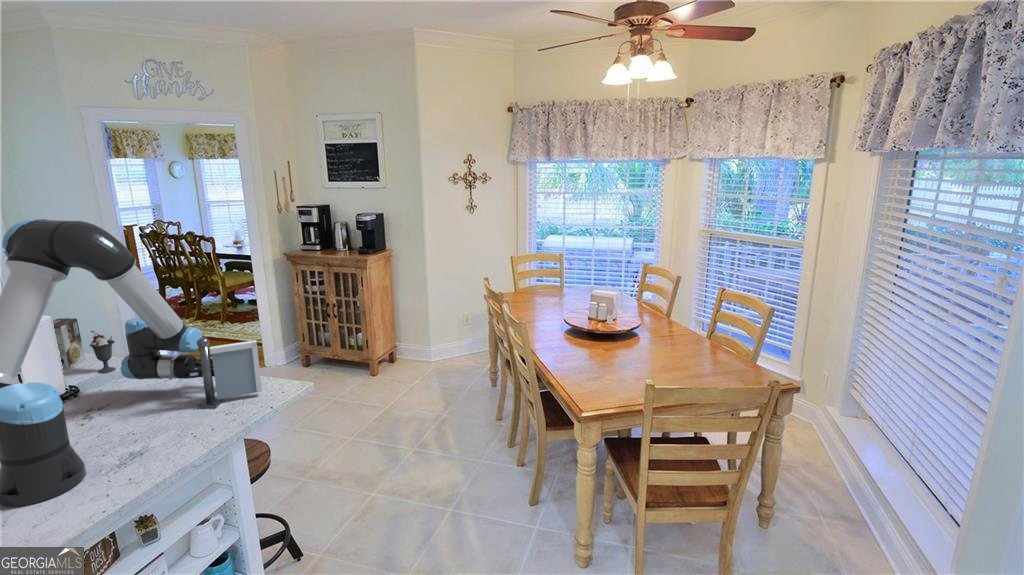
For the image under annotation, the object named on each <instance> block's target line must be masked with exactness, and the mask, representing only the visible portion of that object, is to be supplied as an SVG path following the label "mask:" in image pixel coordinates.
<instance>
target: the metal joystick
mask: <svg viewBox="0 0 1024 575" xmlns="http://www.w3.org/2000/svg"><path fill="white" fill-rule="evenodd" d="M209 345H210V339H209V338H208V337H202V338H199V339H198V340H197V346H198V347H199V348H198V350H199V357H200V358H199V359H201V366H202V374H203V377H202V380H203V387H204V395H205V396H204V397H205V398H204V400H202V402H200V403H199V404H198V406H197V407H198V409H199V408H200V410H201V409H207V410H208V409H217V408H218V407H219V406H220V405H221V404H222V403H223V402H224V401H223V400H224V398H223V399H217V397H216V394H215V388H214V379H213V377H212V370H211V363H210V356H211V354H210V347H209ZM222 401H223V402H222Z"/></svg>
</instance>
